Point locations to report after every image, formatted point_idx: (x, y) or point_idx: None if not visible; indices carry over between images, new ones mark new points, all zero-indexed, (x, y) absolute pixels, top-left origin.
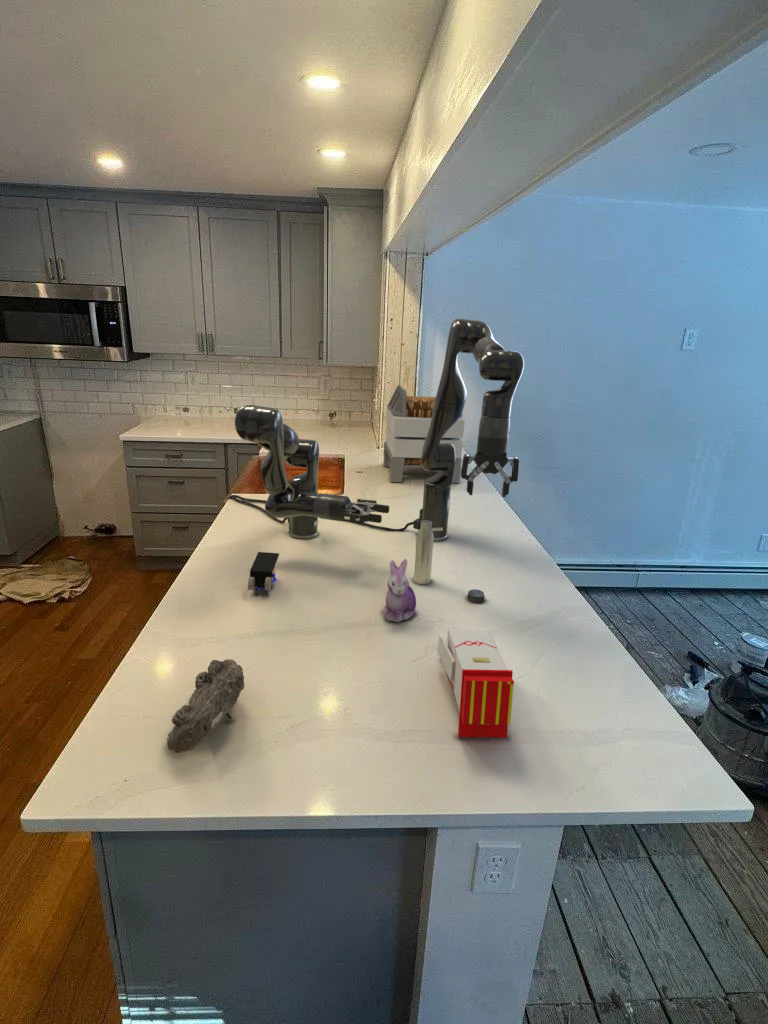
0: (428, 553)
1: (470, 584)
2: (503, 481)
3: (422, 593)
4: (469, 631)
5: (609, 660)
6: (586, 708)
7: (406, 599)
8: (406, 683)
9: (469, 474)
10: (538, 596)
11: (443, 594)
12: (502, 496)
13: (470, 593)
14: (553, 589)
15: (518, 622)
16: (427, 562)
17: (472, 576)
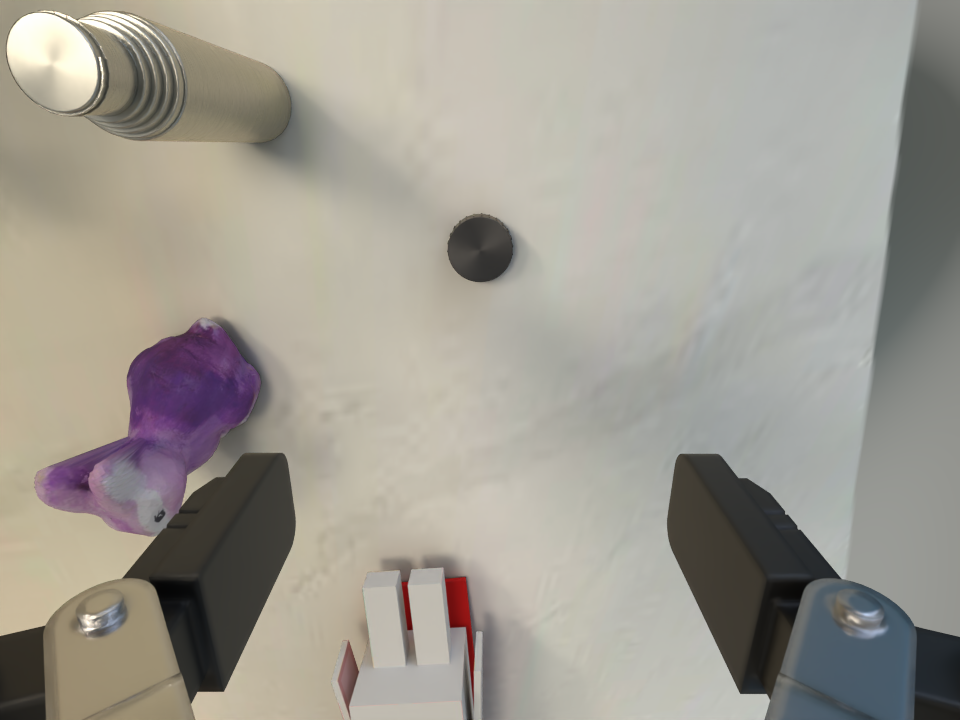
0: (210, 135)
1: (470, 109)
2: (765, 591)
3: (271, 225)
4: (407, 714)
5: None
6: (664, 688)
7: (206, 453)
8: (290, 658)
9: (58, 684)
10: (743, 185)
11: (355, 222)
12: (669, 506)
13: (456, 258)
14: (837, 105)
15: (607, 387)
16: (232, 135)
17: (487, 13)
